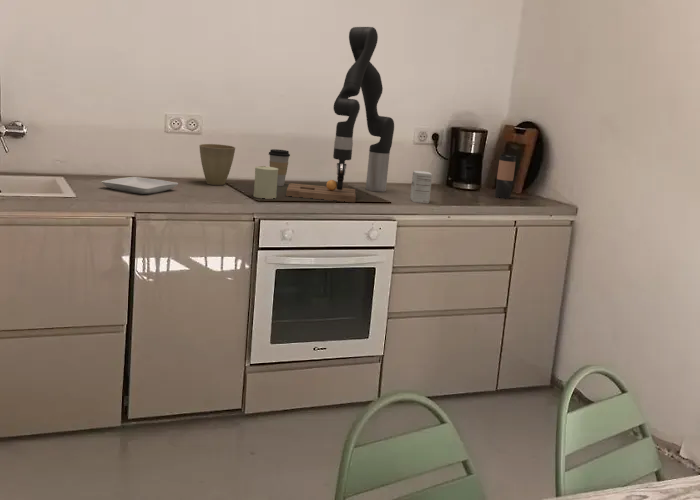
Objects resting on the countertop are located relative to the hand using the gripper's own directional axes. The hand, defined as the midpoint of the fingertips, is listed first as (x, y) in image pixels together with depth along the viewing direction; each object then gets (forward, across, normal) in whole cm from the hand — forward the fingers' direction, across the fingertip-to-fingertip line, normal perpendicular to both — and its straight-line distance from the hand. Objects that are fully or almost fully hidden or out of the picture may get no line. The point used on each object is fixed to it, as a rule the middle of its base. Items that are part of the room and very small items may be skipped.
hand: (339, 189), depth 331 cm
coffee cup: (+4, +20, +27) cm, 34 cm away
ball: (-1, 0, +3) cm, 4 cm away
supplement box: (+4, +9, -35) cm, 36 cm away
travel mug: (+4, +43, -78) cm, 89 cm away
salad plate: (+4, -24, +77) cm, 80 cm away
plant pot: (+3, +7, +52) cm, 53 cm away
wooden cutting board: (+3, 0, +7) cm, 8 cm away
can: (+4, -16, +30) cm, 34 cm away
